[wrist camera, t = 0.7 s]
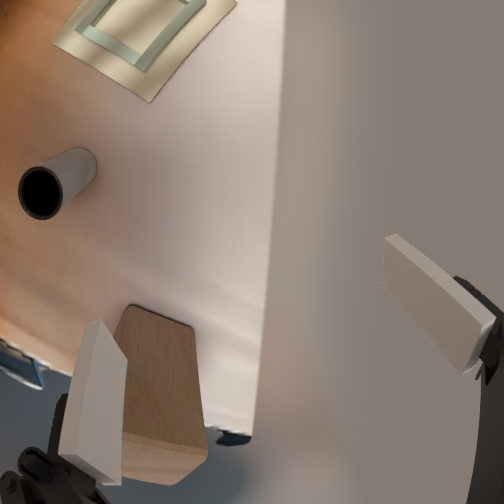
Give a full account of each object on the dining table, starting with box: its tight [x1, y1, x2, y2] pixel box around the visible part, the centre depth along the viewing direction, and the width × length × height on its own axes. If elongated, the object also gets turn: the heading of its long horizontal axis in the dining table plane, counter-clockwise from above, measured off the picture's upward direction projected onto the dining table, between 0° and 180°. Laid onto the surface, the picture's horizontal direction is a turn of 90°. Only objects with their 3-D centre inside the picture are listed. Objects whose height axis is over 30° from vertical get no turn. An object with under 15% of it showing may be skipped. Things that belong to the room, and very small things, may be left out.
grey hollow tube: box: [18, 148, 97, 220], centre depth 24 cm, size 4×4×10 cm
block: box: [114, 306, 208, 485], centre depth 32 cm, size 10×10×20 cm
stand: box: [52, 0, 238, 103], centre depth 22 cm, size 14×14×2 cm
